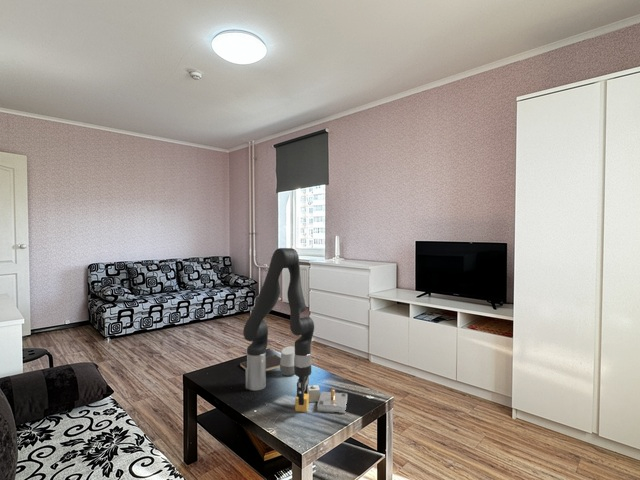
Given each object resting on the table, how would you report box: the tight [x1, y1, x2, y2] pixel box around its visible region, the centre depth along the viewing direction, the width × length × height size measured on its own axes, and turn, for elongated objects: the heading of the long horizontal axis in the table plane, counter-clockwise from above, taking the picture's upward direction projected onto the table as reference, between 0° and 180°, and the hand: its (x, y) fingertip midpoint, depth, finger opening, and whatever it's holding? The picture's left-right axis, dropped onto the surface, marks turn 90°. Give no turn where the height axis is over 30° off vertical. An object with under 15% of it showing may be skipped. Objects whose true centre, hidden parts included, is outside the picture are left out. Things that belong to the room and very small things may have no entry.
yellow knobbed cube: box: [294, 394, 310, 413], centre depth 152 cm, size 5×5×6 cm
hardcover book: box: [239, 354, 281, 372], centre depth 201 cm, size 16×23×2 cm
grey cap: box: [308, 384, 321, 403], centre depth 161 cm, size 5×5×6 cm
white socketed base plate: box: [316, 388, 348, 414], centre depth 155 cm, size 12×12×7 cm
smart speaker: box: [279, 345, 295, 377], centre depth 189 cm, size 10×9×14 cm
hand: (303, 399), depth 152 cm, fingers open, 8 cm apart
